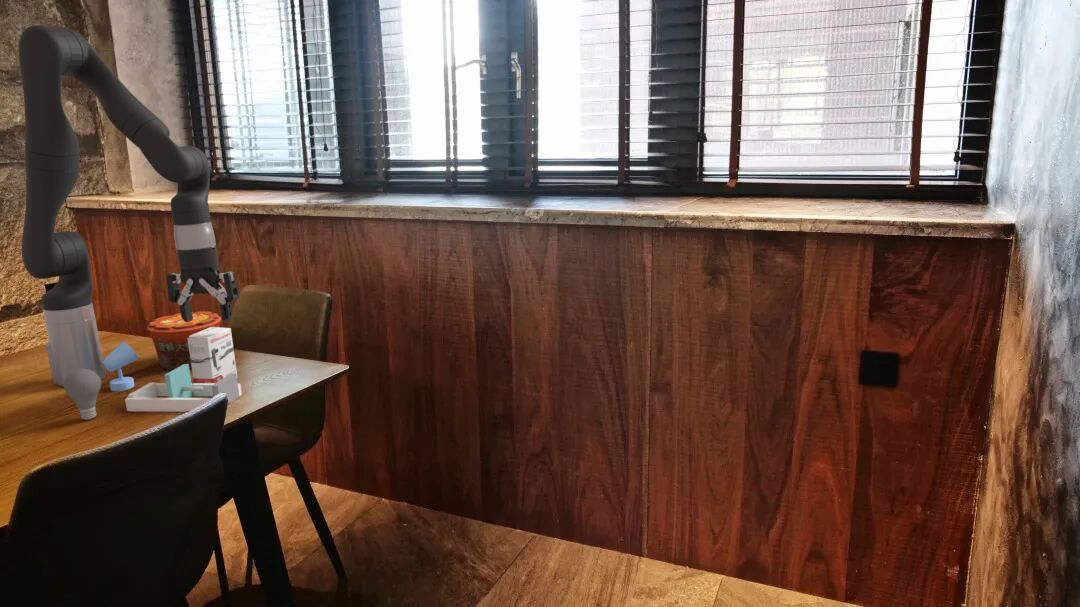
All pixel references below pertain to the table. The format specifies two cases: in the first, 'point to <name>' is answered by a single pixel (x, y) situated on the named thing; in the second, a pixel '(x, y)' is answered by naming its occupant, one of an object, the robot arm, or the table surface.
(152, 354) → the table surface
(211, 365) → the ink box
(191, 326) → the food container
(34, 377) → the table surface
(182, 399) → the light grey piece
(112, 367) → the spotlight
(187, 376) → the pusher
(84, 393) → the light bulb
